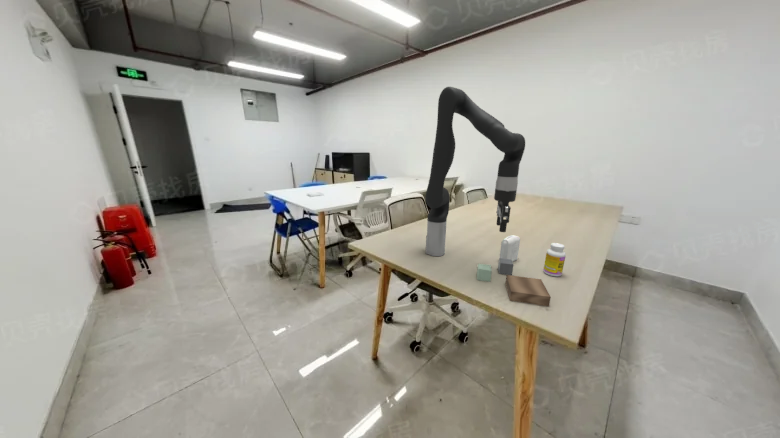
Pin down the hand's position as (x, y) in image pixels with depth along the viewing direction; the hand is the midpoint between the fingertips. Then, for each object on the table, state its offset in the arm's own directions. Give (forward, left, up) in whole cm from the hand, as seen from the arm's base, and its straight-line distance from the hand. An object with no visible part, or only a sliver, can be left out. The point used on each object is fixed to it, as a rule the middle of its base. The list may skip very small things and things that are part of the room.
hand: (500, 228), depth 99 cm
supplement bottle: (+23, +7, -20) cm, 32 cm away
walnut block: (+9, -13, -21) cm, 26 cm away
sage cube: (-5, -5, -20) cm, 21 cm away
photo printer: (+7, +15, -20) cm, 26 cm away
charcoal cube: (+4, +3, -20) cm, 21 cm away
